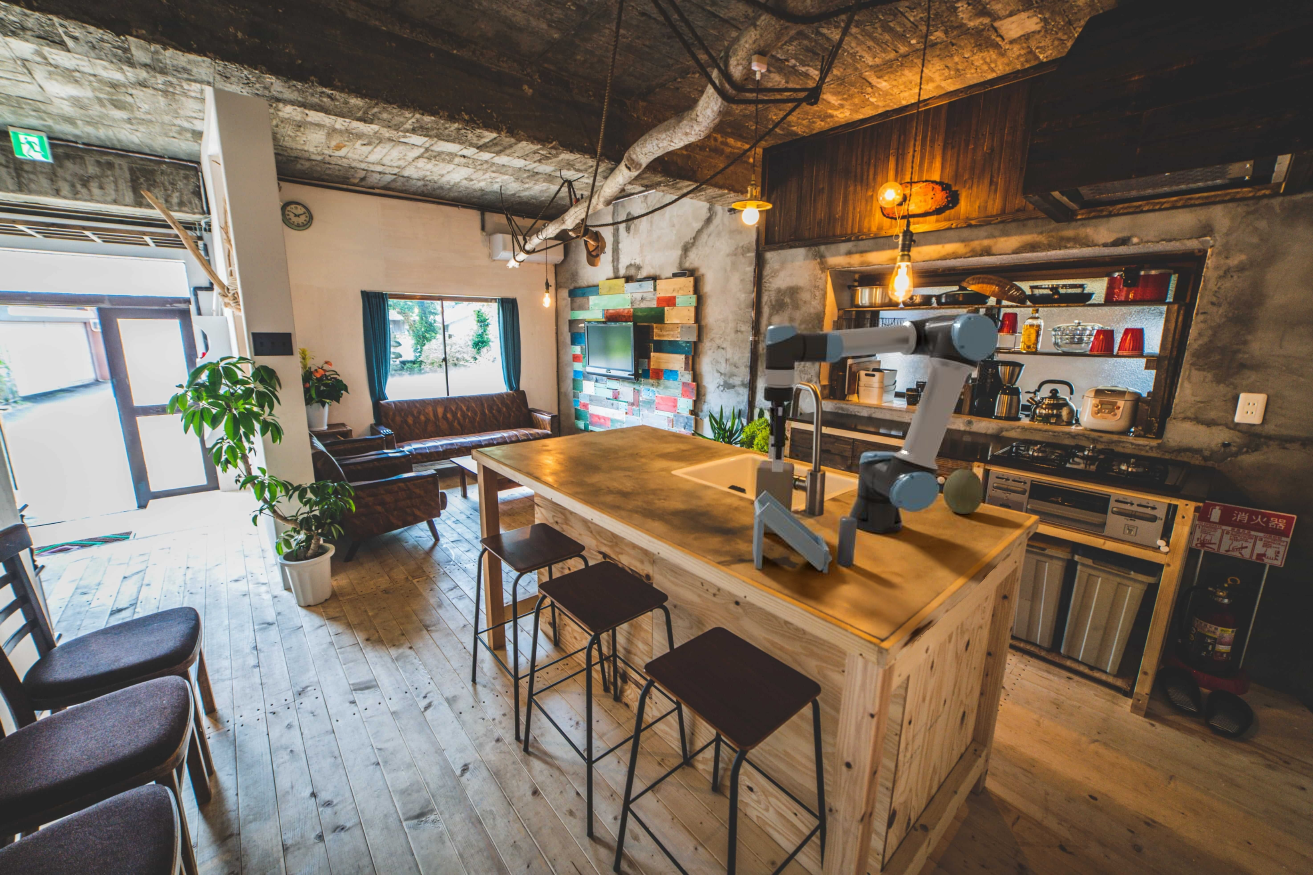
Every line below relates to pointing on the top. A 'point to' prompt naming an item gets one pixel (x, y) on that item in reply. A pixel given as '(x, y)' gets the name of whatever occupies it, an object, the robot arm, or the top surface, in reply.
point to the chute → (787, 533)
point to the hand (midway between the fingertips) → (775, 464)
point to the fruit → (963, 491)
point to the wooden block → (775, 485)
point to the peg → (846, 541)
